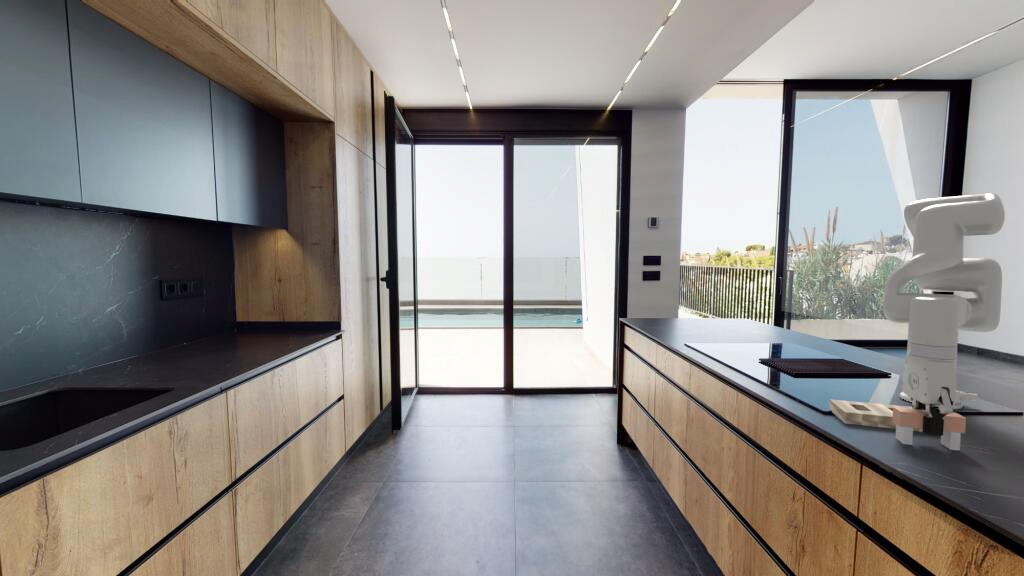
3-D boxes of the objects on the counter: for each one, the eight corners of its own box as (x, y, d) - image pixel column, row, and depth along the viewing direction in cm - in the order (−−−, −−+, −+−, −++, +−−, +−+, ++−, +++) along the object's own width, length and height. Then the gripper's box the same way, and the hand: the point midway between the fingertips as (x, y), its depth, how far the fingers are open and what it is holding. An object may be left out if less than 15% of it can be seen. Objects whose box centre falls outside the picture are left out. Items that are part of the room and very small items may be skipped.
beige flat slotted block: (912, 417, 102) (912, 406, 101) (937, 433, 92) (938, 421, 92) (829, 409, 108) (829, 399, 108) (845, 423, 99) (845, 412, 99)
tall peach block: (954, 445, 86) (956, 412, 86) (964, 451, 84) (966, 417, 83) (891, 437, 90) (893, 406, 90) (899, 443, 88) (900, 411, 87)
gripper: (889, 343, 95) (886, 415, 96) (933, 358, 80) (929, 444, 81) (929, 345, 92) (925, 419, 93) (982, 361, 77) (977, 450, 78)
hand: (927, 430), depth 87 cm, fingers closed on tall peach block, 3 cm apart
